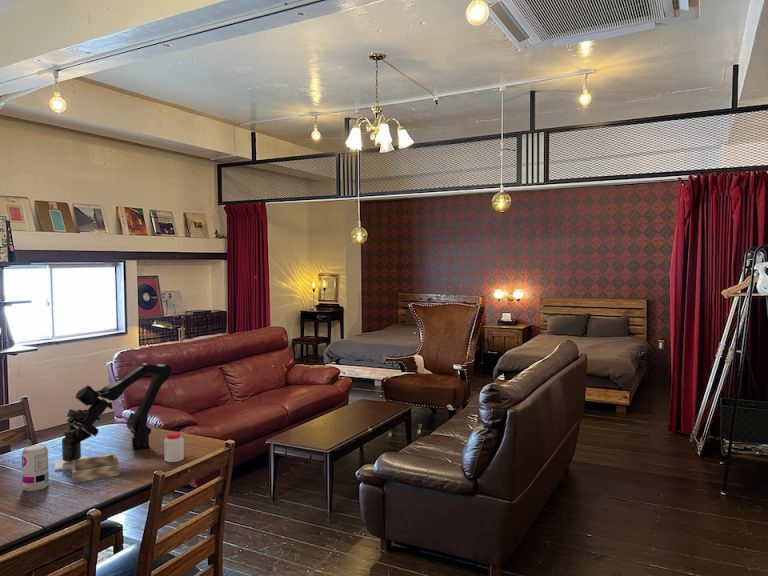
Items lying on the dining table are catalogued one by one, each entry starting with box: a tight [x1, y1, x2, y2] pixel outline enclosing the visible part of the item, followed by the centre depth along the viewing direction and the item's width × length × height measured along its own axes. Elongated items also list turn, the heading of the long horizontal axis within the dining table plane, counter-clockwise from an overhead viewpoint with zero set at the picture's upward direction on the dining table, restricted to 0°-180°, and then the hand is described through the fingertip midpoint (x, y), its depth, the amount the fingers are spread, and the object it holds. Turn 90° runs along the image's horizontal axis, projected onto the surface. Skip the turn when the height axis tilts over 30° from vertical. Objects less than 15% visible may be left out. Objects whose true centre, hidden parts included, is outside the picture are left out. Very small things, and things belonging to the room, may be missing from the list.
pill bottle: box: [163, 431, 185, 463], centre depth 241 cm, size 8×8×11 cm
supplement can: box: [21, 444, 50, 492], centre depth 210 cm, size 8×8×15 cm
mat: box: [54, 455, 88, 472], centre depth 235 cm, size 12×12×1 cm
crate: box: [71, 453, 121, 484], centre depth 225 cm, size 16×16×4 cm
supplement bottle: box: [61, 429, 82, 461], centre depth 235 cm, size 7×7×12 cm
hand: (67, 443), depth 234 cm, fingers closed on supplement bottle, 7 cm apart
